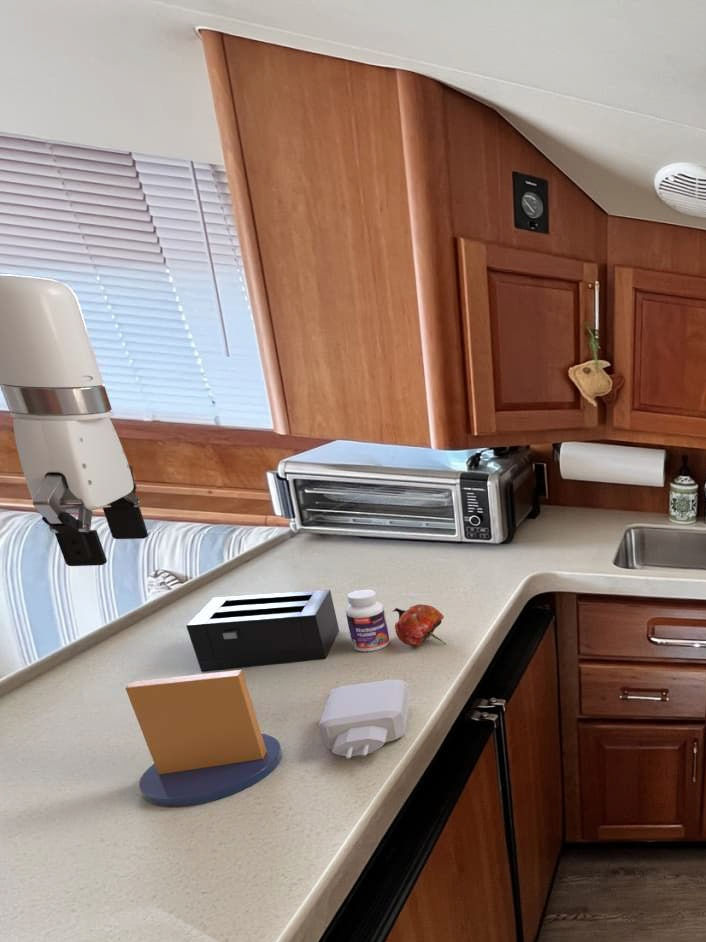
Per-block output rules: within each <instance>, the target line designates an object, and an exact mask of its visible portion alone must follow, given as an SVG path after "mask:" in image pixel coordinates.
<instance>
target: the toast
mask: <svg viewBox="0 0 706 942" xmlns="http://www.w3.org/2000/svg"><path fill="white" fill-rule="evenodd" d="M125 691H126V694H127V696H128V699H129V701H130V704H131V707H132V709H133V712H134V714H135V717H136V720H137V722H138V725H139V727H140V731H141V732H142V735H143V738H144V741H145V743H146V746H147V749H148V750H149V754H150V756H151V758H152V761H153V764H155V766H156V769H157V771H158V774H166V773H173V772H179V771H186V770H192V769H199V768H206V767H212V766H219V765H226V764H232V763H239V762H245V761H252V760H259V759H263V758H264V756H265V754H266V752H267V751H266V748H265V744H264V741H263V738H262V734H263V733H262V731H261V728H260V725H259V721H258V718H257V715H256V712H255V711H256V710H255V707H254V705H253V704H254V703H253V701H252V697H251V694H250V691H249V688H248V685H247V681H246V677H245V675H244V671H243V669H235V670H227V671H226V670H225V671H217V672H209V673H208V672H207V673H197V674H189V675H180V676H171V677H170V676H169V677H160V678H151V679H150V678H149V679H142V680H141V679H140V680H132V681H130V683H128V685H126V687H125ZM261 733H262V734H261Z"/></svg>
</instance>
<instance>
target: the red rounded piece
mask: <svg viewBox="0 0 706 942" xmlns="http://www.w3.org/2000/svg"><path fill="white" fill-rule="evenodd" d="M393 612H397V613H398V620H397V621H396V622H395V624H394V629H395V634H396V636H397V638H398V640H399V641H400V642H401V643H403V644H405V645H407V646H411V647H419V646H420V645H421V644H422V643H423V642H424V640H427V639H428V638H429V637H430V636H431V637H432V638H434V639H436V640H438V641H439V642H440V643H442V644H444V645H447V643H446V642H444V641H443V640H442V639H441V638H439V637H438V636H436V635H435V634H434V632H435V630H436V629H437V628H438V627H439V626H440V625H441V624H442V623H443V622H442V621H443V620H444V618H445V617H444V615H443V613H442V612H440V610H438V609H437V608H435V607H434V606H432V605H428V604H421V603H420V604H419V603H418V604H415V605H412V606H410V607H409V608H408V609H407V610H405V609H400V608H398V607H395V608H394V609H393V610H392V613H393Z"/></svg>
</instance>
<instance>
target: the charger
mask: <svg viewBox="0 0 706 942" xmlns="http://www.w3.org/2000/svg"><path fill="white" fill-rule="evenodd" d="M328 695H329V696H328V698H327V701H326V703H325V707H324V709H323V712H322V715H321V718H320V721H319V723H318V730H319V734H320V738H321V742H322V746H323V747H324V748H325V749H327V750H331V753H333V754H335V755H337V756H343V757H345V759H346V760H349V759H351V758H352V757H356V756H363V757H365V756H367V755H368V754H372V753H374V752H375V751H377V750H379V749H381V748H383V746H384V745H385V744H386V743H387V742H392V741H395V740H398V739H400V738H402V737H404V736H405V734H406V729H407V723H408V715H409V709H410V702H411V700H410V694H409V689H408V683H407V681H406V680H404V679H401V678H400V679H399V678H394V679H385V680H378V681H370V682H363V683H356V684H349V685H348V684H347V685H341V686H338V687H334V688H333V689H331V690H330V692H329V694H328Z"/></svg>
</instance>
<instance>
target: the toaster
mask: <svg viewBox="0 0 706 942" xmlns="http://www.w3.org/2000/svg"><path fill="white" fill-rule="evenodd" d="M186 630H187V633H188V635H189V639H190V642H191V643H192V644H191V645H192V647H193V650H194V651H193V652H194V654H195V657H196V660H197V663H198V666H199V669H200V672H202V673H204V672H213V671H222V670H223V671H224V670H231V669H241V668H250V667H259V666H260V667H262V666H270V665H279V664H289V663H290V664H291V663H300V662H308V661H318V660H326V659H327V657H328V655H329V653H330V651H331V649H332V647H333V644H334V642H335V641H336V638H337V636H338V635H339V632H340V627H339V623H338V619H337V614H336V610H335V605H334V600H333V596H332V592H331V589H323V590H321V589H320V590H309V591H307V590H306V591H294V592H279V593H264V594H263V593H262V594H248V595H235V596H234V595H233V596H220V597H213V598H211V599H210V600H209V601H208V603H207V604H206V605H205V606H204V607H203V608H201V610H199V612H198V613H197V614H195V616H194V617H193V618H192V619H191V620H190V621H189V622H188V623H187V624H186Z"/></svg>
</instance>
